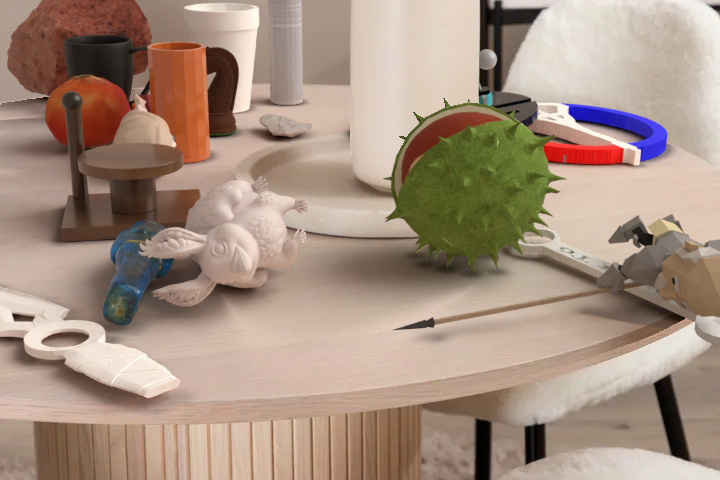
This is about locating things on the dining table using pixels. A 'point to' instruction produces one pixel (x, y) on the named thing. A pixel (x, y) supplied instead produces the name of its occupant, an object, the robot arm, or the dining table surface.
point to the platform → (510, 104)
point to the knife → (81, 346)
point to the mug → (103, 59)
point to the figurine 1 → (132, 272)
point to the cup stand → (119, 184)
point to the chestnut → (471, 181)
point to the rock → (65, 20)
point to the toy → (645, 271)
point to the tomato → (89, 110)
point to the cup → (181, 95)
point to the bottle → (285, 51)
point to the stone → (283, 125)
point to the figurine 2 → (229, 240)
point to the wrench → (705, 327)
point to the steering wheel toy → (596, 135)
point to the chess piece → (221, 90)
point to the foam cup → (227, 39)
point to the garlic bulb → (143, 127)
